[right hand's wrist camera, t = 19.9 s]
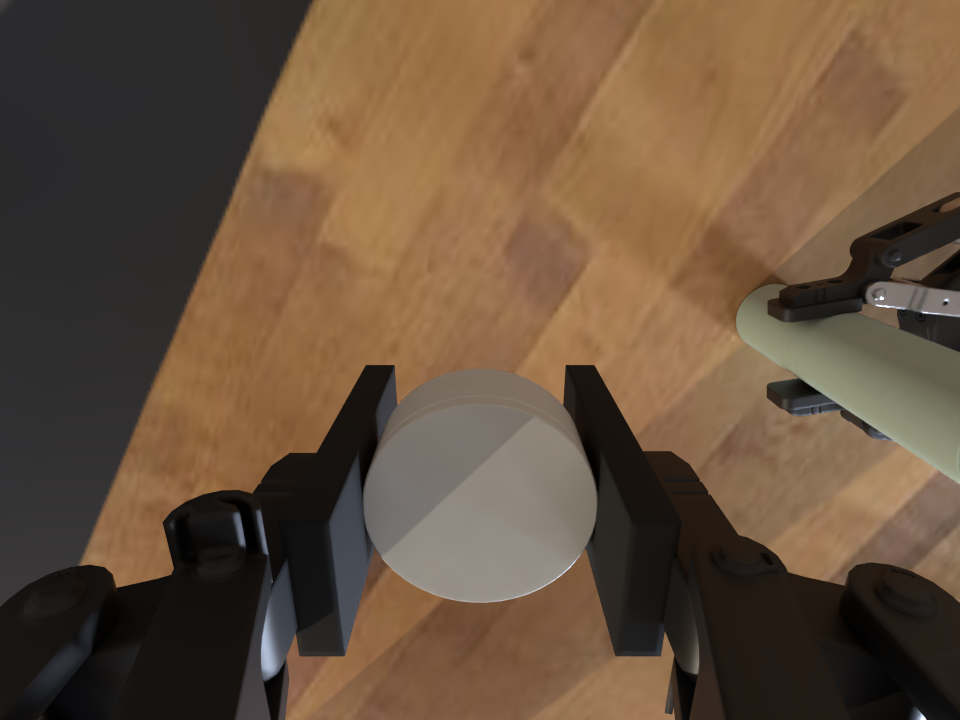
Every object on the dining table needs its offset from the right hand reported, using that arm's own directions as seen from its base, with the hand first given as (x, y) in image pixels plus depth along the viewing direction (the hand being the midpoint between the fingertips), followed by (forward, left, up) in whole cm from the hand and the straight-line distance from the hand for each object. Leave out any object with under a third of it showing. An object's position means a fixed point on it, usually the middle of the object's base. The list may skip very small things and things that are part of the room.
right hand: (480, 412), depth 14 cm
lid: (0, 0, +4) cm, 4 cm away
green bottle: (-14, -12, -20) cm, 27 cm away
